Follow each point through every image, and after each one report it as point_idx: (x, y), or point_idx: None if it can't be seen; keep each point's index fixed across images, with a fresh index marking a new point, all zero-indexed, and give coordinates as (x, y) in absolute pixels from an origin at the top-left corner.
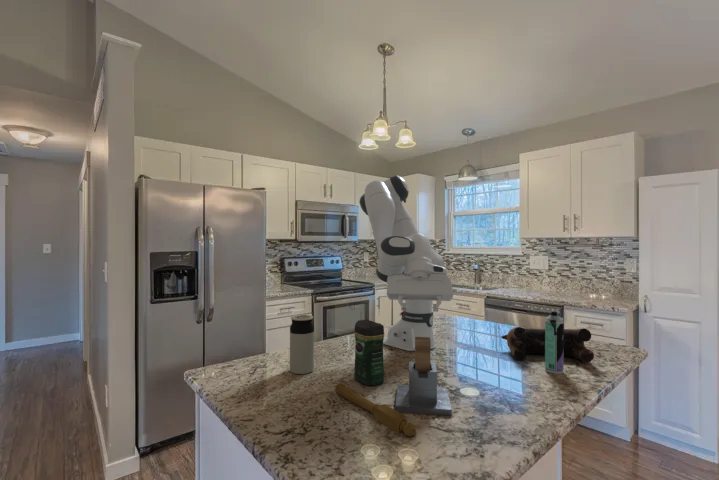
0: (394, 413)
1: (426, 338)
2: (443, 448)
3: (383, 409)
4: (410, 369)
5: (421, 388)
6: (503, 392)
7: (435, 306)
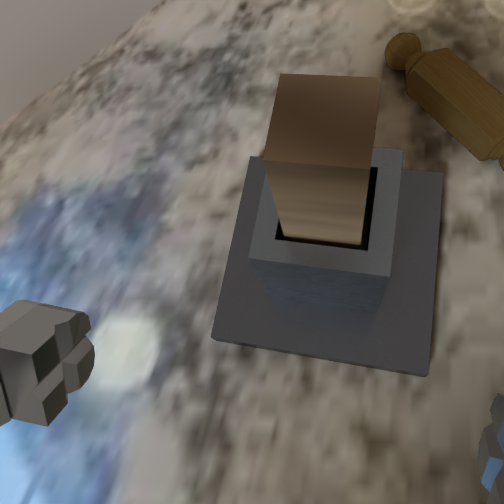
0: (452, 80)
1: (293, 128)
2: (321, 21)
3: (492, 103)
4: (395, 161)
5: None
6: None
7: (35, 318)
